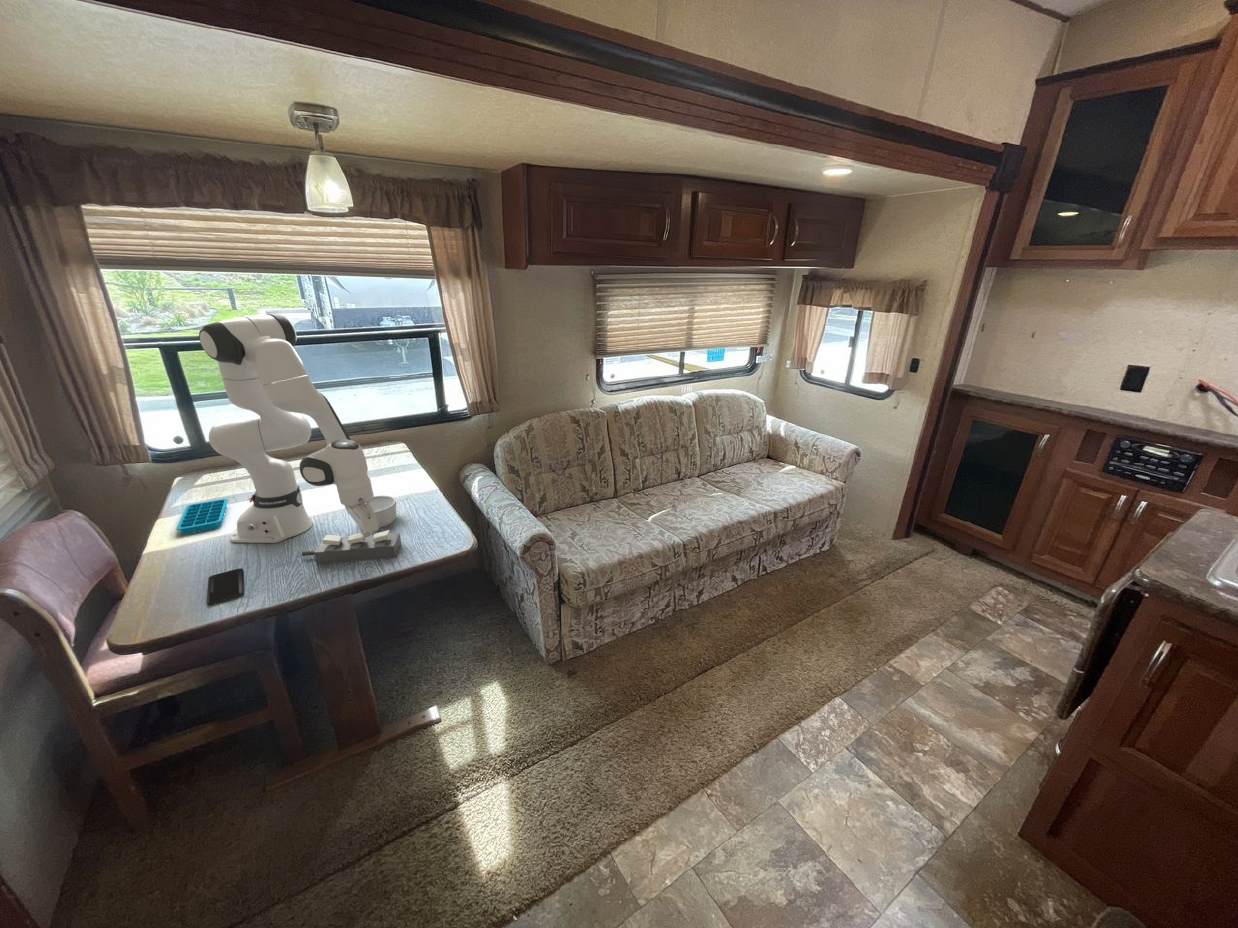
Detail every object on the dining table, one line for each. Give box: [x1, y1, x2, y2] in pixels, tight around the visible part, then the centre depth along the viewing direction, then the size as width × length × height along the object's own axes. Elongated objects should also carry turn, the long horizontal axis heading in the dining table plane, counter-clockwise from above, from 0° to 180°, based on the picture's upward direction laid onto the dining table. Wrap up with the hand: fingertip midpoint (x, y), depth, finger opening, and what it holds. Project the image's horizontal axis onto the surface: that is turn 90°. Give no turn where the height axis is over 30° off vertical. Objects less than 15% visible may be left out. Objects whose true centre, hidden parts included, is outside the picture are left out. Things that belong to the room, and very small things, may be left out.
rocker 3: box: [373, 529, 392, 543], centre depth 149 cm, size 4×3×1 cm
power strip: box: [301, 532, 402, 565], centre depth 148 cm, size 27×8×5 cm, turn 101°
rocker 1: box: [322, 534, 343, 545], centre depth 146 cm, size 4×3×1 cm
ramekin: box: [370, 495, 397, 529], centre depth 167 cm, size 13×13×7 cm
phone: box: [206, 567, 245, 607], centre depth 133 cm, size 8×1×15 cm
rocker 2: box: [348, 532, 366, 544], centre depth 148 cm, size 4×3×1 cm
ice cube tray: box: [175, 498, 228, 536], centre depth 167 cm, size 12×20×3 cm, turn 31°
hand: (365, 535), depth 147 cm, fingers closed, pressing on rocker 2
